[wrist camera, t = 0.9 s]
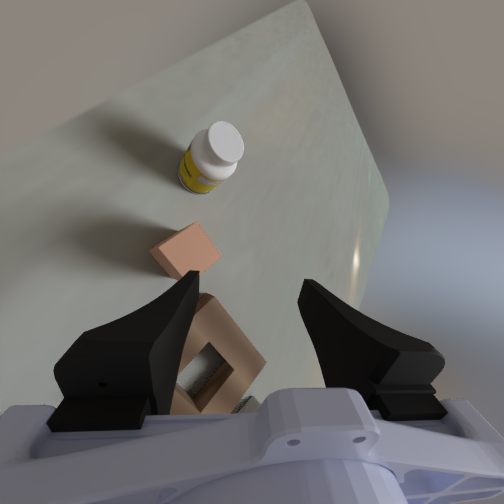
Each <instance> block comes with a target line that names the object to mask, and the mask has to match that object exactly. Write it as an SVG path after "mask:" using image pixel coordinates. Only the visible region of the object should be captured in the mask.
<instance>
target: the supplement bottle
mask: <svg viewBox="0 0 504 504" xmlns="http://www.w3.org/2000/svg"><path fill="white" fill-rule="evenodd" d="M243 151H244V145H243V140H242V138H241V136H240V134H239V132H238V131H237V130H236V129H235V128H234V127H233V126H232V125H231V124H229V123H227V122H224V121H217V122H214V123H213V124H211V126H210V127H209V129H206V130H202V131H200V132H199V133H198V134H196V136H195V137H194V138H193V140H192V142H191V144H190V145H189V147H188V149H187V151H186V153H185V154H184V156H183V158H182V159H181V161H180V163H179V166H178V176H179V179H180V181H181V183H182V185H183V186H184V187H185V188H186V189H187V190H189V191H190V192H192V193H195V194H200V195H202V194H207V193H209V192H210V191H212V190H213V189H214V188H215V187H217V186H218V185H219V184H221V183H222V182H223V181H224V180H226V179H227V178H228V177H229V176H231V175H232V174H233V172H234V171H235V169H236V166H237V161H238V160H239V159H240V158H241V157H242V155H243Z"/></svg>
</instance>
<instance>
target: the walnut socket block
mask: <svg viewBox="0 0 504 504" xmlns="http://www.w3.org/2000/svg"><path fill="white" fill-rule="evenodd" d="M208 342H209V343H210V344H211V345H212V346H213V347H214V349H215V350H216V351H217V352H218V353H219V354H220V355H221V356H222V358H223V359H224V360H225V361H224V362H223V363H222V364H221V365H220V367H219V368H218V369H217V370H216V371H215V373H214V374H213V375H212V376H211V377H210V379H209V380H208V381H207V382H206V383H205V385H204V386H203V387H202V388H201V389H200V391H199V392H198V393H197V394H196V396H195V397H194V398H192V397H191V396H190V395H189V394H188V393H187V392H186V391H185V390H184V389H182V388H181V387H180V386H179V385H178V384H177V383H176V385H175V390H174V395H173V399H172V404H171V410H170V415H193V414H230V413H231V412H232V411H233V409H234V408H235V406H236V405H237V404H238V402H239V401H240V399H241V398H242V396H243V395H244V394H245V392H246V391H247V389H248V388H249V387H250V385H251V384H252V382H253V381H254V380H255V378H256V377H257V375H258V374H259V373H260V371H261V370H262V368H263V367H264V366H265V364H266V363H267V362H266V361H265V360H264V358H263V357H262V356H261V355H260V353H259V352H258V351H257V350H256V348H255V347H254V346H253V344H252V343H251V342H250V341H249V339H248V338H247V337H246V336H245V334H244V333H243V332H242V331H241V329H240V328H239V327H238V326H237V324H236V323H235V322H234V320H233V319H232V318H231V317H230V315H229V314H228V313H227V312H226V310H225V309H224V308H223V307H222V305H221V304H220V303H219V301H218V300H217V299H216V298H215V296H212V295H210V294H208V293H206V294H204V295H203V296H202V297H201V298H200V299H199V300H198V303H197V307H196V311H195V314H194V317H193V320H192V323H191V326H190V329H189V332H188V335H187V338H186V341H185V345H184V349H183V353H182V358H181V362H180V366H179V371H178V374H179V373H180V372H181V371H182V370H183V369H184V368H185V367H186V366H187V365H188V364H189V363H190V361H191V360H192V359H193V358H194V357H195V356H196V355H197V354H198V353H199V352H200V351H201V350H202V349H203V347H204V346H205V345H206V344H207V343H208Z"/></svg>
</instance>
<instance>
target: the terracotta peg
mask: <svg viewBox="0 0 504 504" xmlns="http://www.w3.org/2000/svg"><path fill="white" fill-rule="evenodd" d="M149 252H150V253H151V254H152V256H153V257H154V258H155V259H156V260H157V261H158V263H159V264H160V265H161V266H162V267H163V268H164V270H165V271H166V272H167V273H168V274H169V275H170V277H171V278H173V279H176V280H178V281H179V280H180V279H181V278H182V277H183V276H184V275H185V274H186V273H187V272H188V271H189V270H196V271H200V273H199V276H200V275H201V274H202V273H203V272H205V271H206V270H207V269H208V268H209V267H210V266H212V265H213V264H214V263H215V262H216V261H218V260H219V259H220V258H221V257H222V255H221V254H220V252H219V251H218V250H217V248H216V247H215V245H214V244H213V243H212V241H211V240H210V238H209V237H208V235H207V234H206V233H205V231H204V230H203V228H202V227H201V226H200V224H199V223H198V221H197V222H195V223H193V224H191V225H189V226H187V227H185V228H183V229H181V230H179V231H177V232H176V233H174V234H173V235H171V236H170V237H168V238H167V239H165V240H164V241H162V242H161V243H159V244H158V245H156V246H155V247H153V248H152V249H150V250H149Z"/></svg>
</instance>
